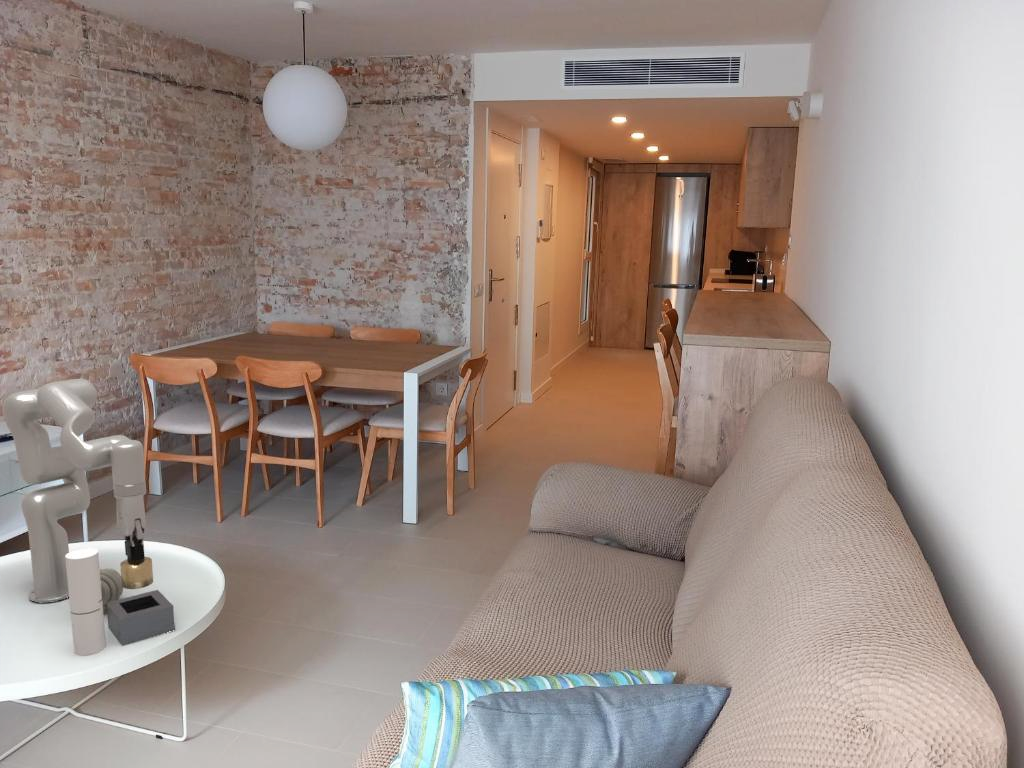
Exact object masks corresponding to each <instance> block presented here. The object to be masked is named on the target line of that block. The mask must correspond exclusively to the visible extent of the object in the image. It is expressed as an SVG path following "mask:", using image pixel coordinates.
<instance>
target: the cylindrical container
mask: <svg viewBox="0 0 1024 768" xmlns="http://www.w3.org/2000/svg"><path fill="white" fill-rule="evenodd" d="M65 558H66V569H67V579H68V590H69V598H68V599H69V600H68V601H69V609H70V619H71V631H72V641H73V643H72V644H73V652H74V654H75V655H77V656H91V655H94V654H95V655H96V654H98V653H100V652H102V651H104V650H105V649H106V648H107V641H106V639H107V637H106V630H105V629H106V628H105V617H104V616H105V615H103V603H102V592H101V580H100V569H101V567H100V561H99V559H100V558H99V551H98V549H96V548H90V547H87V548H80V549H74V550H72V551H69V553H67V554H66V555H65Z"/></svg>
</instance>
